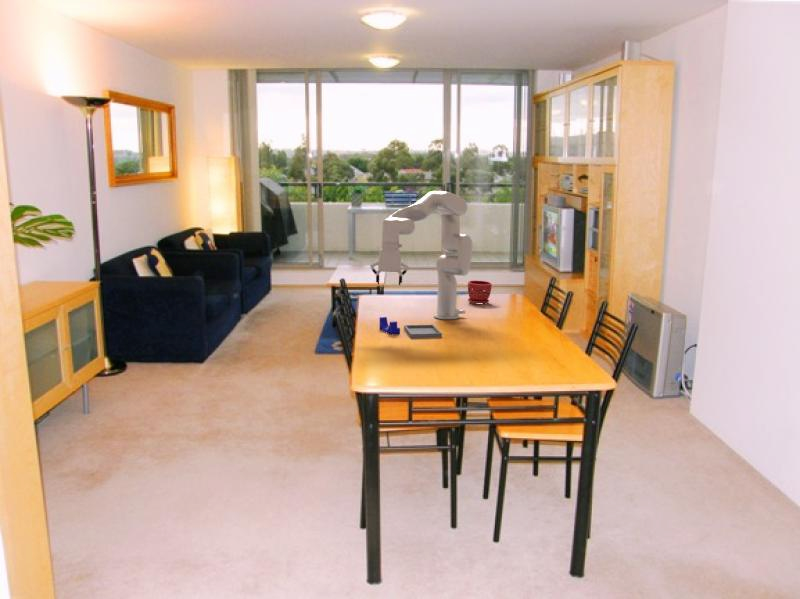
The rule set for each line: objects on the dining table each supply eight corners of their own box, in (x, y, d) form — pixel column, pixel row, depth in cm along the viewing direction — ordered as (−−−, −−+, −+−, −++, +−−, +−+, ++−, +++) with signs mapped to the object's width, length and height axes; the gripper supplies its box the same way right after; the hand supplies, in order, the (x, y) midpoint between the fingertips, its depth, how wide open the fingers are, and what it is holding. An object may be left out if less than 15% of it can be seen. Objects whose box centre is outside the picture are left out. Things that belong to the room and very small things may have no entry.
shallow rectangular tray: (433, 328, 337) (433, 324, 337) (441, 337, 320) (441, 333, 319) (403, 329, 335) (403, 325, 335) (410, 338, 318) (410, 334, 317)
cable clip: (399, 334, 326) (400, 321, 325) (391, 335, 324) (391, 322, 323) (388, 329, 336) (388, 316, 335) (379, 329, 334) (379, 317, 333)
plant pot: (468, 305, 396) (469, 283, 394) (466, 300, 409) (466, 280, 407) (492, 305, 396) (493, 284, 394) (489, 301, 409) (489, 280, 407)
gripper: (409, 246, 327) (407, 283, 329) (371, 245, 326) (369, 282, 329) (409, 247, 319) (408, 286, 322) (370, 246, 319) (369, 284, 321)
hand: (388, 284), depth 325 cm, fingers open, 9 cm apart
